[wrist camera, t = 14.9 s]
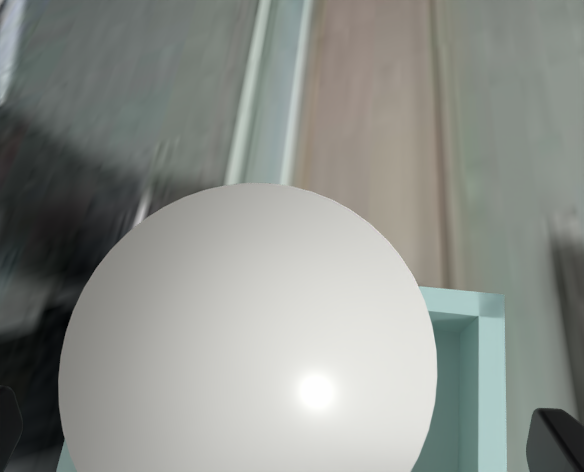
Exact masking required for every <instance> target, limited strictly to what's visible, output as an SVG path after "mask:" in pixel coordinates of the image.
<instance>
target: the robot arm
mask: <svg viewBox="0 0 584 472" xmlns="http://www.w3.org/2000/svg"><path fill="white" fill-rule="evenodd" d="M22 431H23V419H22V416H21V412H20V409H19V406H18V403H17V400H16V396H15V393H14V391H13V390H12V389H11V388H10V387H8V386H0V472H4V470H5V468H6V466H7V464H8V462H9V460H10V458H11V455H12V453H13V451H14V449H15V447H16V445H17V443H18V441H19V439H20V437H21V434H22ZM526 457H527V462H528V467H529V471H530V472H584V426H583V425H582V424H581V423H580V422H578V421H577V420H576V419H575V418H573V417H572V416H571V415H569V414H568V413H567V412H565V411H564V410H562V409H553V408H537V409H536V410H534V412H533V414H532V419H531V424H530V429H529V435H528V440H527V445H526Z"/></svg>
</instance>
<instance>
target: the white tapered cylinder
mask: <svg viewBox="0 0 584 472" xmlns="http://www.w3.org/2000/svg"><path fill="white" fill-rule="evenodd" d="M436 386H437V353H436V345H435V339H434V333H433V327H432V323H431V319H430V316H429V313H428V310H427V306H426V303H425V300H424V298H423V296H422V293H421V291H420V289H419V287H418V285H417V283H416V280H415V278H414V277H413V275H412V273H411V272H410V270H409V269H408V267H407V265H406V264H405V262H404V260H403V259H402V257H401V256H400V255H399V254H398V253H397V251H396V250H395V249H394V248H393V246H392V245H391V244H390V243H389V242H388V240H387V239H386V238H385V237H384V236H383V235H382V234H380V233H379V232H378V231H377V230H376V229H375V228H374V227H373V226H372V225H371V224H370V223H368V222H367V221H366V220H364V219H363V218H362V217H360V216H359V215H357V214H356V213H355V212H353V211H352V210H350V209H348V208H346V207H345V206H343V205H341V204H339V203H337V202H336V201H334V200H332V199H329V198H327V197H324V196H322V195H319V194H317V193H314V192H311V191H307V190H304V189H300V188H296V187H292V186H286V185H278V184H271V183H243V184H233V185H225V186H221V187H216V188H212V189H207V190H204V191H201V192H198V193H195V194H192V195H189V196H186V197H184V198H182V199H180V200H177V201H175V202H173V203H171V204H169V205H167V206H165V207H163V208H162V209H160V210H158V211H157V212H155V213H154V214H152V215H150V216H149V217H147V218H146V219H144V220H143V221H142V222H141V223H139V224H138V225H137V226H136V227H134V228H133V229H132V230H131V231H129V232H128V233H127V234H126V235H125V236H124V237H123V238H122V239H121V240H120V241H119V242H118V243H117V244H116V245H115V246H114V247H113V248H112V249H111V250H110V251H109V253H108V254H107V255H106V256H105V258H104V259H103V260H102V261H101V263H100V264H99V265H98V266H97V268H96V269H95V271H94V273H93V274H92V276H91V277H90V279H89V281H88V282H87V284H86V285H85V287H84V289H83V291H82V293H81V295H80V297H79V299H78V301H77V303H76V306H75V308H74V310H73V313H72V316H71V319H70V322H69V324H68V327H67V330H66V334H65V338H64V343H63V348H62V352H61V357H60V368H59V379H58V389H59V410H60V416H61V422H62V429H63V433H64V437H65V440H66V444H67V447H68V450H69V454H70V457H71V459H72V461H73V464H74V466H75V468H76V470H77V472H411V470H412V468H413V466H414V464H415V463H416V461H417V459H418V457H419V455H420V452H421V449H422V447H423V444H424V441H425V439H426V436H427V433H428V431H429V427H430V422H431V418H432V414H433V409H434V405H435V396H436Z"/></svg>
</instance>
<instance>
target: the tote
mask: <svg viewBox="0 0 584 472" xmlns="http://www.w3.org/2000/svg"><path fill="white" fill-rule="evenodd" d="M418 287H419V289H420V291H421V293H422V296H423V298H424V300H425V303H426V306H427V310H428V313H429V316H430V319H431V323H432V327H433V333H434V339H435V345H436V353H437V386H436V396H435V405H434V409H433V414H432V418H431V422H430V427H429V431H428V433H427V436H426V439H425V441H424V444H423V447H422V449H421V452H420V455H419V457H418V459H417V461H416V463H415V464H414V466H413V468H412V470H411V472H507V448H506V378H505V309H504V295H502V294H492V293H482V292H472V291H462V290H452V289H441V288H431V287H421V286H418ZM56 472H77V470H76V468H75V466H74V464H73V461H72V459H71V457H70V454H69V450H68V447H67V444H66V440H64V444H63V448H62V452H61V455H60V459H59V463H58V467H57V470H56Z"/></svg>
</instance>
